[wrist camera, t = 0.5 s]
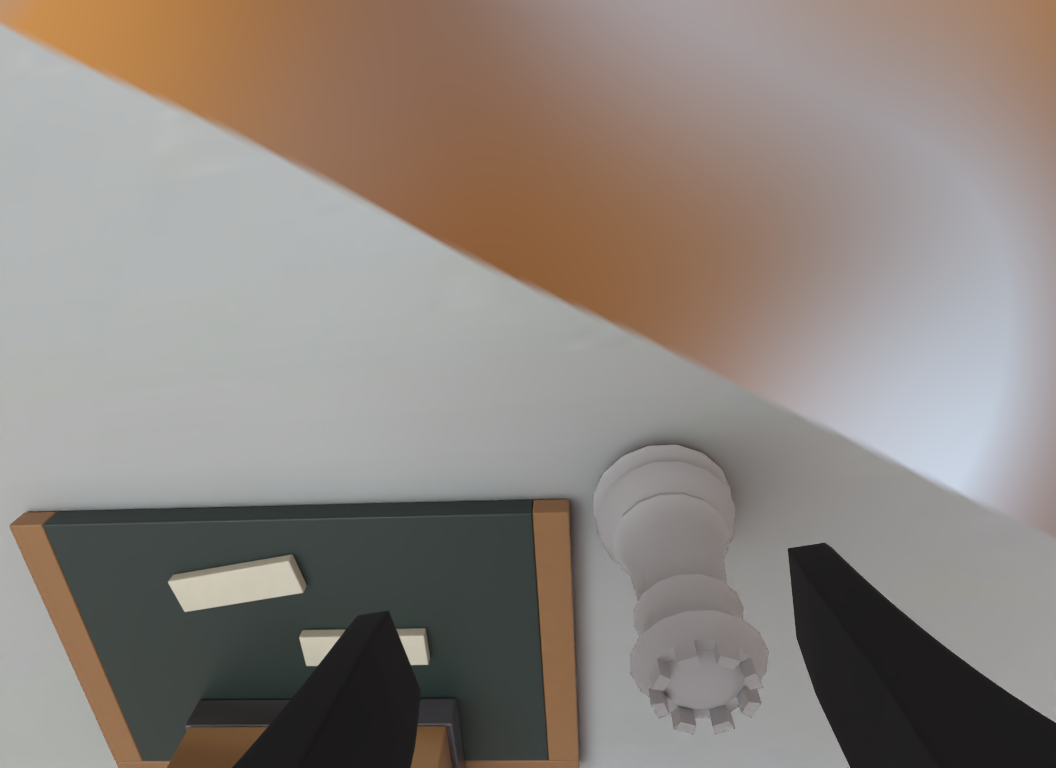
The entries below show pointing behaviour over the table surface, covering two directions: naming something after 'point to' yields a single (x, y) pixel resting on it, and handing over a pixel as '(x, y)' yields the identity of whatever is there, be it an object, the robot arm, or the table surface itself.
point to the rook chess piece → (681, 585)
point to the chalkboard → (318, 613)
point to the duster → (237, 724)
